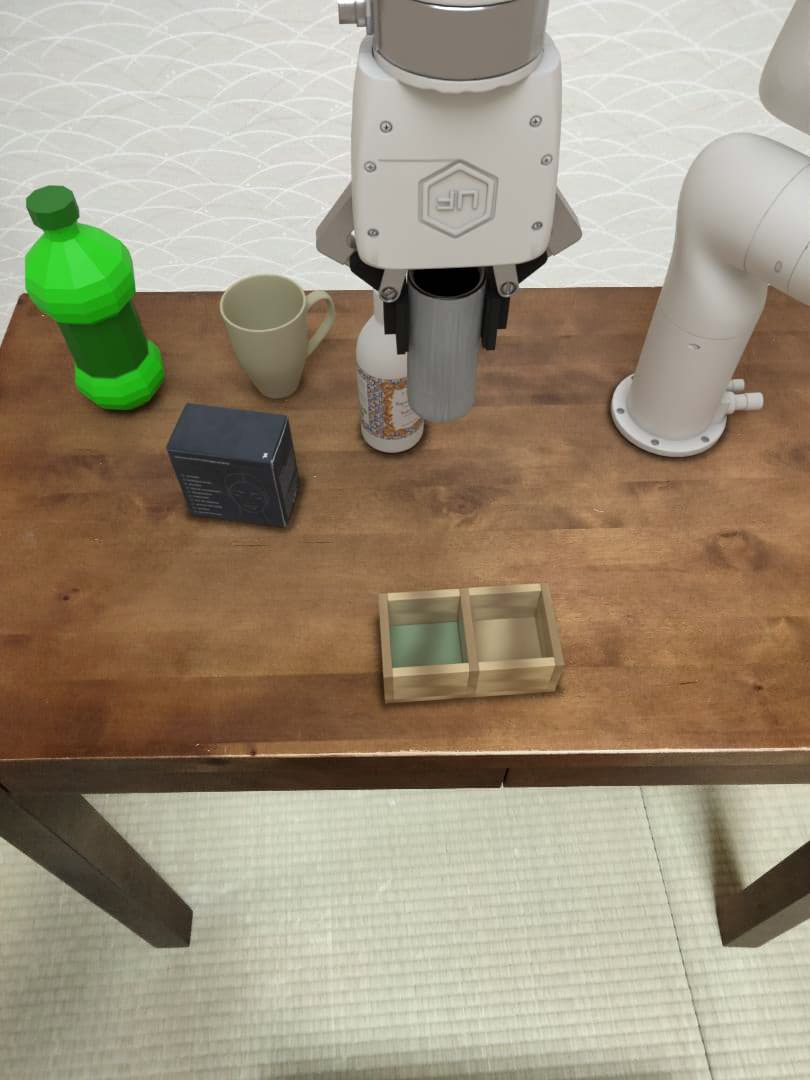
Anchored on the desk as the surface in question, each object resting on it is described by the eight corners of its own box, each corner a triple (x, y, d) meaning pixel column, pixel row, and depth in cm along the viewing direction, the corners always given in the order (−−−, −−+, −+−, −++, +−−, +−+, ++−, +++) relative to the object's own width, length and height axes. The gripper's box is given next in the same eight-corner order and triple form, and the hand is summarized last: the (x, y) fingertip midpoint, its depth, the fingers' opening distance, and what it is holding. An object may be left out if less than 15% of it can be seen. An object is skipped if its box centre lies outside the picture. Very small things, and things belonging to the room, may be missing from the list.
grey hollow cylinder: (483, 416, 54) (497, 290, 45) (417, 430, 53) (419, 306, 45) (462, 368, 56) (471, 241, 48) (399, 382, 56) (397, 255, 47)
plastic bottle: (190, 374, 96) (128, 178, 75) (142, 438, 90) (62, 246, 70) (116, 352, 98) (37, 156, 77) (66, 413, 93) (-34, 220, 72)
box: (302, 479, 87) (290, 413, 78) (287, 529, 84) (272, 466, 75) (206, 466, 88) (184, 400, 80) (187, 515, 85) (162, 451, 76)
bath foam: (383, 464, 88) (376, 322, 72) (349, 424, 91) (336, 278, 75) (435, 437, 90) (441, 292, 74) (401, 399, 94) (399, 251, 77)
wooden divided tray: (540, 613, 78) (548, 582, 73) (554, 691, 74) (565, 664, 69) (380, 623, 78) (378, 593, 73) (384, 703, 73) (383, 677, 68)
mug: (305, 422, 92) (292, 342, 82) (226, 400, 94) (204, 319, 84) (342, 357, 97) (334, 275, 87) (267, 338, 99) (251, 254, 89)
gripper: (258, 66, 33) (306, 388, 48) (675, 51, 33) (591, 374, 48) (264, -19, 37) (306, 302, 52) (635, -31, 37) (569, 290, 53)
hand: (443, 334), depth 50 cm, fingers closed on grey hollow cylinder, 4 cm apart
